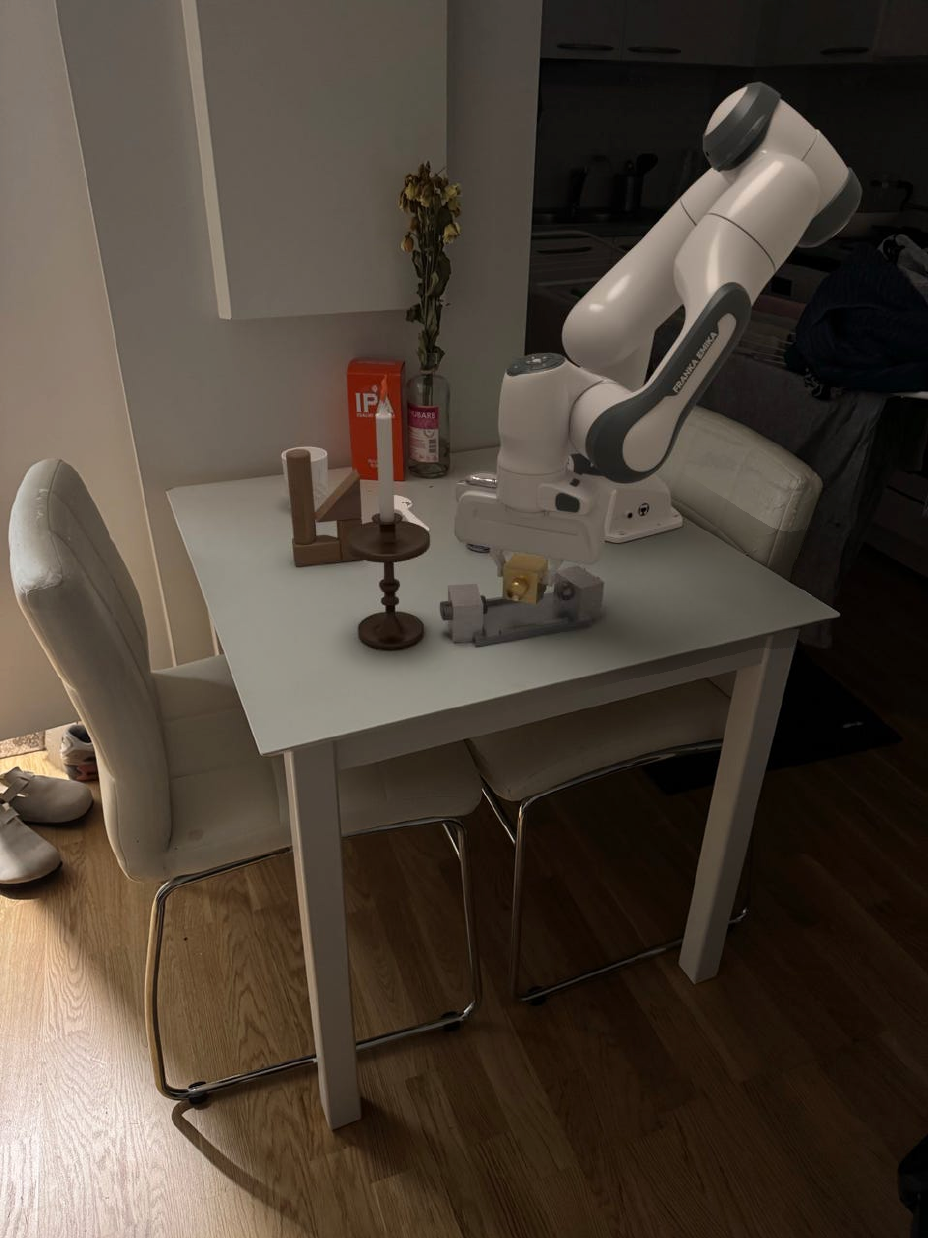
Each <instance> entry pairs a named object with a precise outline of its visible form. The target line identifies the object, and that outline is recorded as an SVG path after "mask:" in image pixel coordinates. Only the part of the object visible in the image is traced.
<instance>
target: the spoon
mask: <svg viewBox="0 0 928 1238" xmlns="http://www.w3.org/2000/svg"><path fill="white" fill-rule="evenodd" d="M402 502H404V503H402ZM405 502H409V503H411V502H412V501H411V499H409V498H408V497H405V496H401V495H398V494H394V511H399V512H401V514H402V516H403V517H404V518H405V519H406V520H407V522H411V523H415V524H417V525H420V526H422V527H424V528H425V529H426V530H427V531H428V532H429V531H430V528H429V527H428V526H427V525H426V524H425V523H424V522H422V520H420V518H418V517H417V516H415V515H414V514H413V512H411V511H410V510H409V509H410V508H411V507H412V506H413V502H412V503H411V504H410V505H408V506H407V504H406V503H405Z"/></svg>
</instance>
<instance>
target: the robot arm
mask: <svg viewBox="0 0 928 1238" xmlns="http://www.w3.org/2000/svg"><path fill="white" fill-rule="evenodd" d="M781 96H782V94H780V93H779V92H778V91H776V90H775V88H773V87H771V86H769V85H767V84H766V83H764V82H762V81H757V82H752V83H750V82H749V83H747V84H746V85H744V86H743V87H742V88H739V89H738V90H736V91H734V92H732V94H730V95H728V96H727V97H726V98H725V99H724V100H723V101H722V102H721V103H720V104H719V105H718V107H717V108H716V109H715V110H714V112H713V113H712V116H711V118H710V119H709V121H708V124H707V127H706V129H705V130H704V133H703V134H702V151H703V153H704V156H705V157H706V159H707V161H708V162H709V165H710V166H711V168H710V169H708V170H707V171H706V172H705V173H704V174H703V175H702V176H700V177H699V178H698V179H697V180H695V182H694V183H693V184H692V185H691V186H689V188H688V189H687V190H686V191H685V192H684V193H683V195H681V196H680V197H679V198H678V199H677V201H676V202H675V203H674V204H673V205H672V206H671V207H670V208H669V209H668V210H667V212H666V213H664V214H663V216H662V217H661V218H660V219H659V221H658V222H657V223H656V224H654V225H653V227H652V228H651V229H650V230H649V231H648V232H647V233H646V234H645V236H644V237H642V239H641V240H639V242H638V243H637V244H636V245H634V247H633V248H631V250H629V251H628V252H627V253H626V254H625V255H624V256H623V257H622V258H621V259H620V260H619V261H618V262H617V263H616V264H615V265H614V266H613V267H612V268H611V269H609V270H608V272H606V274H604V276H602V278H601V279H600V280H598V282H597V283H596V284H595V285H594V286H593V287H592V288H591V289H590V290H588V292H587V293H586V294H584V296H583V297H582V298H581V299H580V300H579V301H578V302H577V303H576V304H575V305H574V306H573V308H572V309H571V310H570V312H569V314H568V315H567V317H566V320H565V321H564V323H563V326H562V332H561V342H562V346H563V348H564V351H565V353H566V355H567V357H569V359H570V360H571V361H572V362H573V363H574V364H573V363H572V362H571V361H569V359H567V358H566V357H565V356H563V355H562V354H559V353H554V352H544V353H543V352H538V353H531V354H528V355H525V356H524V355H523V356H522V357H519V358H517V359H516V360H514V361H513V362H512V363H510V364H509V365H508V366H507V368H506V370H505V372H504V376H503V377H502V378H503V379H502V382H501V387H500V394H499V407H498V421H497V431H498V435H499V440H500V447H499V451H498V454H497V459H496V474H497V479H492V478H479V477H476V476H471V475H470V474H469V475H466V476H465V477H462V478H460V479H459V480H458V481H457V482H456V484H455V496H454V497H455V501H456V503H457V506H456V510H455V517H454V528H453V534H454V536H455V539H457V541H458V542H459V543H464V544H466V543H468V544H473V545H479V546H485V547H490V551H489V555H490V556H491V559H492V560H493V562H494V563H495V565H496V566H495V567H497V568H496V569H497V573H496V574H497V577H498V578H502V579H503V567H504V566H505V565H506V563H507V562H508V561H506V558H505V556H504V553H503V551H507V552H508V551H509V552H512V553H520V554H526V555H532V556H537V557H543V558H548V559H549V565H551V566H552V567H551V568H550V569H549V568H548V569H545V570H544V572H543V573H542V574H541V579H542V581H541V585H546V586H547V587H552V586H554V581H555V572H556V571H559V570H558V569H560V567H561V566H562V564H563V562H564V561H565V562H571V563H577V564H581V565H582V564H583V565H588V566H592V565H594V564H596V563H597V562H598V561H600V559H601V558H602V555H603V553H604V550H605V541H607V542H611V543H615V544H620V543H624V542H629V541H632V540H636V539H641V538H644V537H649V536H652V535H656V534H659V533H663V532H666V531H667V532H668V531H671V530H674V529H678V528H681V527H683V517H682V514H681V513H680V512H679V511H678V510H677V509H676V508H674V507H673V506H672V497H671V493H670V490H669V488H668V486H667V484H666V483H665V482H664V481H663V480H662V479H660V478H659V477H658V476H657V475H656V472H657V471H658V470H659V469H661V467H662V466H663V465H664V464H665V463H666V461H667V459H668V458H669V457H670V455H671V452H673V451H672V450H673V448H674V447H675V444H676V441H677V439H678V437H679V434H680V431H681V429H682V428H683V425H684V424H685V422H686V420H687V418H688V417H689V415H690V414H691V413H692V411H693V410H694V408H695V406H696V405H697V403H698V402H699V401H700V399H701V397H702V396H703V395H704V393H705V391H706V390H708V388H709V386H710V384H711V383H712V381H713V380H714V379H715V377H716V376H717V375H718V373H719V371H720V370H721V369H722V367H723V365H724V364H725V362H726V361H727V359H728V358H729V357H730V355H731V353H733V351H734V349H735V348H736V346H737V344H738V343H739V341H740V339H741V337H742V336H743V334H744V333H745V331H746V328H747V326H748V324H749V322H750V319H751V316H752V310H753V308H752V307H753V305H754V303H755V301H756V299H758V297H759V295H760V293H761V292H762V290H763V289H764V288H765V286H766V285H767V283H769V281H770V280H771V278H772V277H773V276H774V275H775V274H776V273H777V271H778V270H779V268H781V266H782V265H783V264H784V262H786V260H787V258H788V257H789V256H790V254H791V253H792V251H793V250H794V249H795V247H796V246H797V247H799V248H815V247H818V246H820V245H823V244H824V243H826V242H827V241H829V239H831V238H833V237H834V236H835V235H837V234H838V233H839V232H841V230H842V229H843V228H844V227H845V226H846V225H847V224H848V223H849V221H850V220H851V218H852V217H853V216H854V214H855V212H857V209H858V208H859V206H860V204H861V198H862V196H863V189H862V186H861V183H860V181H859V179H858V177H857V175H856V173H855V172H854V170H853V168H852V167H849V166H848V167H847V166H846V164H845V161H844V160H843V159H842V158H841V156H840V155H839V154H838V152H837V151H836V149H835V148H834V147H833V145H832V144H831V143H830V142H829V140H828V138H826V137H825V136H824V134H822V132H821V131H820V130H819V129H816V128H815V127H814V126H813V125H812V124H811V123H809V122H808V120H806V119H805V118H804V117H803V116H802V115H801V114H800V113H799V112H798V111H797V110H796V109H794V108H793V107H792V106H790V105H789V104H788V103H787V102H785V100H783V99H781ZM682 305H683V306H684V309H685V318H684V324H683V327H682V329H681V331H680V334H679V335H678V337H677V338H676V340H675V342H673V344H672V346H671V347H670V349H669V350H668V352H667V353H666V355H664V357H663V359H662V360H661V361H660V363H659V364H658V366H657V367H656V369H655V370H654V372H653V374H652V375H651V376H650V378H649V379H648V381H647V382H646V383H645V379H646V375H647V370H648V367H649V362H650V357H651V352H652V348H653V343H654V337H655V332H656V330H657V329H658V328H659V327H660V326H661V325H662V324H663V323H665V322H666V320H667V319H668V318H670V316H672V315H673V314H674V313H675V312H676V311H677V310H678V309H679V308H680V307H681V306H682ZM578 366H579V367H578ZM644 383H645V384H644Z"/></svg>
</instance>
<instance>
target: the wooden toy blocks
mask: <svg viewBox="0 0 928 1238" xmlns="http://www.w3.org/2000/svg"><path fill="white" fill-rule="evenodd" d="M286 461H287V472H288V483H289V494H290V505H291V509H290V513H291V525H292V535H293V537H292V538H291V545H292V554H293V561H294V564H295V566H296V567H304V566H313V565H314V566H315V565H324V564H332V563H340V562H343V563H344V562H345V563H346V562H352V561H353V562H354V561H355V562H356V561H362V559H359V558H357V557H355V556H353V555H352V554H350V553H349V552H348V551H347V548H346V540H345V539H346V535H347V533H348V532H349V531H350V530H351V529H353V528H354V527H356V526H359V525H361V524H363V519H362V518H363V517H362V515H363V513H362V496H361V476H360V474H359V472H358V470H357V468H354V469H353V470H352V471H351V472H350V473H349V474H348V475H347V476H346V477H345V478H344V479H343V480H342V482H341V483H340V484H339V485H338V486H337V487H336V488H335V489H334V491H333V492H332V493H331V494H330V495H329V496H327V500H326V501H325V502H324V503H323V504H322V505H321V506H320V507H319V508H318V509H317V511H316V512H315V507H314V495H313V482H312V469H311V456H310V452H309V451H308V450H305V449H293V450H290V451H288V452H287V453H286ZM329 522H336V533H337V536H334V535H328V534H319V535H318V534H317V524H316V523H319V524H320V523H329Z"/></svg>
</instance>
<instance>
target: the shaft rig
mask: <svg viewBox="0 0 928 1238" xmlns="http://www.w3.org/2000/svg"><path fill="white" fill-rule="evenodd" d="M604 587H605V581H604V580H602V579H601V578H600V577H599V576H595V575H594V574H592V573H590V572H589V571H587V570H586V569H584V568H583V567H581V566H579V565H573V566H570V567H567V568H563V569H560V570H557V571H556V572H555V581H554V584H553V591H551V592H544V594H543V595H542V597H541V598H540V600H539V601H538V603H537V604H536V605H533V604H528V603H523V602H518V601H513V600H507V599H502V596H498V597H491V598H486V596H485V595H483V594H482V595H481V593H480V590H479V587H478V584H477V583H469V584H468V583H467V584H465V583H464V584H448V585H447V600H444V601H443V600H442V601H440V602H439V613H440V617H441V620H442V621H444V622H446V621H447V623H448V627H449V628H448V629H449V633H450V636H451V640H452V643H453V644H454V643H455V644H459V643H471V642H472V644H473V645H474V646H475V647H476V648H477V647H479V648H480V647H484V646H489V645H490V646H491V645H495V644H500V643H501V644H502V643H507V642H512V641H517V640H523V639H527V638H528V639H529V638H536V637H539V636H540V637H541V636H546V635H550V634H551V635H552V634H557V633H562V632H567V631H575V630H580V629H585V628H586V629H587V628H590V627H592V625H591V624H592V621H593V620H595V619H599V618H601V617H602V606H603V600H604V599H603V598H604V590H605V589H604Z"/></svg>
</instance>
